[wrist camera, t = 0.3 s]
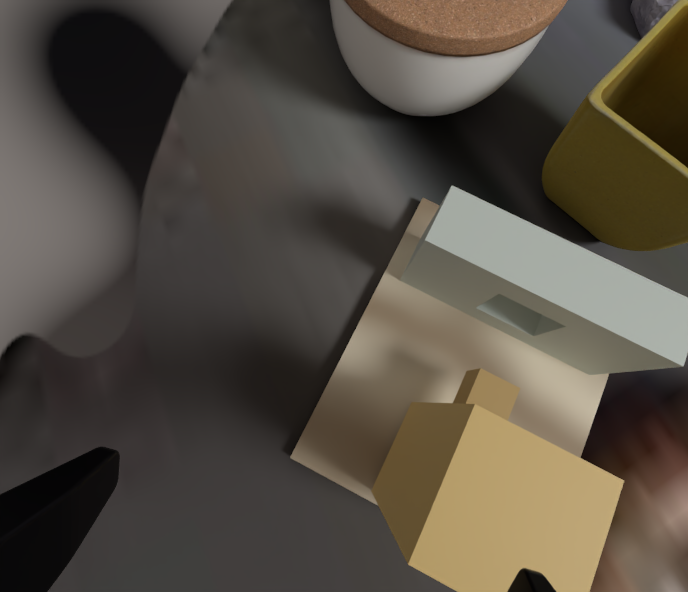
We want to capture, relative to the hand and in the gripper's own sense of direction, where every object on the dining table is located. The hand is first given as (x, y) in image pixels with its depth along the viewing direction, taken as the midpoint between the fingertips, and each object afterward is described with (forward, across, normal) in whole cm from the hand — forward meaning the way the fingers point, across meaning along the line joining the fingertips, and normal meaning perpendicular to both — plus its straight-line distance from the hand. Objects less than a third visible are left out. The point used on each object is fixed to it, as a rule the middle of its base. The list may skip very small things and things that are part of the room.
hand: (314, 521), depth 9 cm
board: (+15, -7, +3) cm, 17 cm away
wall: (+17, -8, -1) cm, 19 cm away
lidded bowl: (+26, 0, -12) cm, 29 cm away
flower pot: (+23, -13, -8) cm, 28 cm away
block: (+12, -6, +6) cm, 15 cm away
